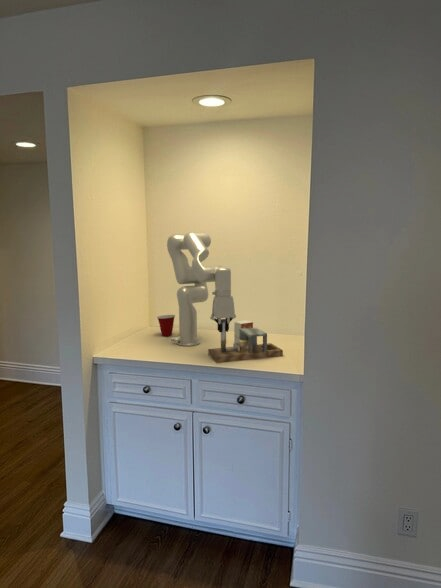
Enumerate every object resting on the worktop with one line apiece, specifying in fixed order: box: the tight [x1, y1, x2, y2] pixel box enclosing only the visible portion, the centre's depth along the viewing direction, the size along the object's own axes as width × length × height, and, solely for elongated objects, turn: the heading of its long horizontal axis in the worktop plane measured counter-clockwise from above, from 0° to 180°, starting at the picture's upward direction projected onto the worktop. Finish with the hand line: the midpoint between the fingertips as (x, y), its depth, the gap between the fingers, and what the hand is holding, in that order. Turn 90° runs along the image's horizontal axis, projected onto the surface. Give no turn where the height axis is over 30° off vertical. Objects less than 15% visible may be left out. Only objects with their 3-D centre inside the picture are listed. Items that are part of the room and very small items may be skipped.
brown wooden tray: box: [207, 327, 284, 364], centre depth 210 cm, size 34×14×12 cm, turn 108°
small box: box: [233, 319, 254, 343], centre depth 229 cm, size 8×6×13 cm
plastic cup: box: [156, 314, 176, 337], centre depth 253 cm, size 11×11×12 cm
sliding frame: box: [220, 318, 240, 352], centre depth 208 cm, size 15×7×16 cm, turn 108°
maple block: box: [238, 339, 248, 351], centre depth 210 cm, size 4×4×4 cm
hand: (223, 331), depth 206 cm, fingers closed on sliding frame, 2 cm apart
